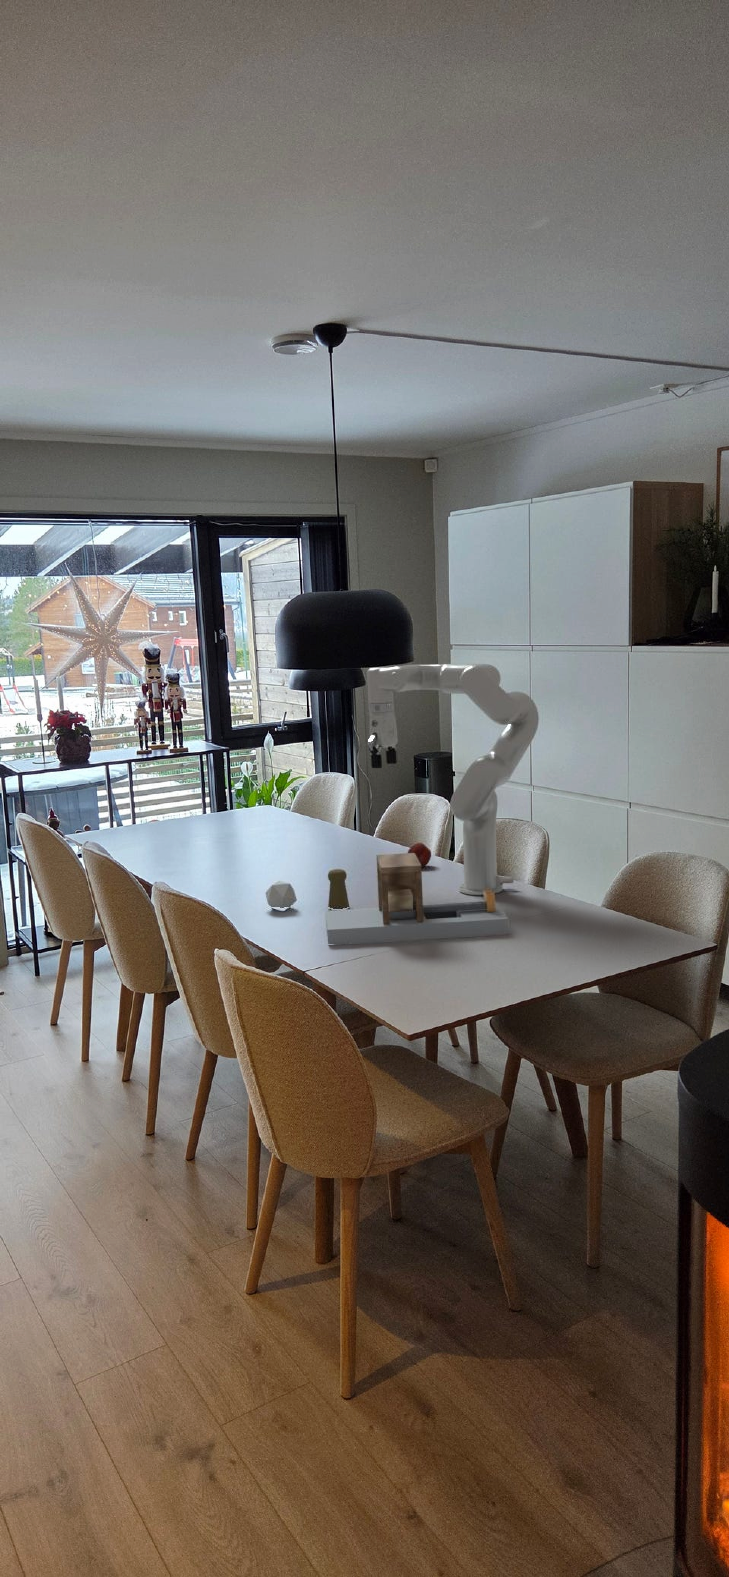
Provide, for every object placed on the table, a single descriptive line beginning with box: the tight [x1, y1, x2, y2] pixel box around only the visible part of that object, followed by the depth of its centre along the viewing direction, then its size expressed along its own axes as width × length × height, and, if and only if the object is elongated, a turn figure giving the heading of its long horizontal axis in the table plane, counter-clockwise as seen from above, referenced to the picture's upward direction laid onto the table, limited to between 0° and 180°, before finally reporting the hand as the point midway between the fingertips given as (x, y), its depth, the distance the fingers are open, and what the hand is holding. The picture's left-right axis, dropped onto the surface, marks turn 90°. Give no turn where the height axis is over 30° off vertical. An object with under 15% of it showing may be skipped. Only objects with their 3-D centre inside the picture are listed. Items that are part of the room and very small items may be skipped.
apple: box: [407, 842, 432, 868], centre depth 337 cm, size 7×8×8 cm
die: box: [265, 880, 298, 908], centre depth 292 cm, size 8×9×10 cm
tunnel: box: [376, 852, 424, 925], centre depth 265 cm, size 10×15×14 cm, turn 4°
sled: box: [381, 889, 496, 920], centre depth 266 cm, size 28×9×4 cm, turn 94°
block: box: [388, 889, 413, 911], centre depth 265 cm, size 6×6×6 cm
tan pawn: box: [327, 868, 350, 909], centre depth 291 cm, size 6×6×11 cm
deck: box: [325, 900, 509, 945], centre depth 266 cm, size 45×18×4 cm, turn 94°
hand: (384, 765), depth 312 cm, fingers open, 9 cm apart
